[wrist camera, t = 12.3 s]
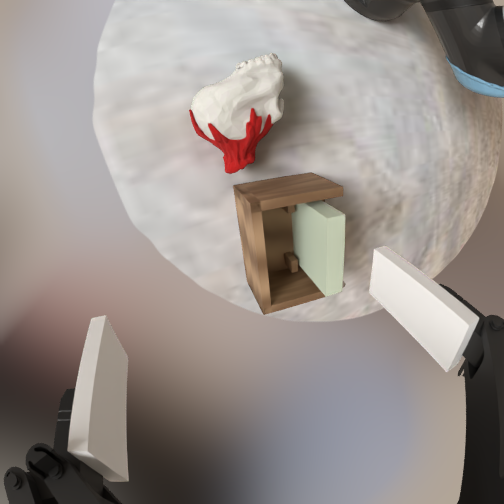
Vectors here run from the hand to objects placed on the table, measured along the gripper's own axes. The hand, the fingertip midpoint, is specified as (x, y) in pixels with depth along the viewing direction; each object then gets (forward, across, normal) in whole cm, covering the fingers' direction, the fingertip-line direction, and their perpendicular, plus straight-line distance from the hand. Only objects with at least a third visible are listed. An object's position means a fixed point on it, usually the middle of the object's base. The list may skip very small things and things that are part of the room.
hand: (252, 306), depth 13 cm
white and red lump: (+29, +6, +8) cm, 31 cm away
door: (+28, +14, -10) cm, 33 cm away
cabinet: (+29, +11, -10) cm, 32 cm away
